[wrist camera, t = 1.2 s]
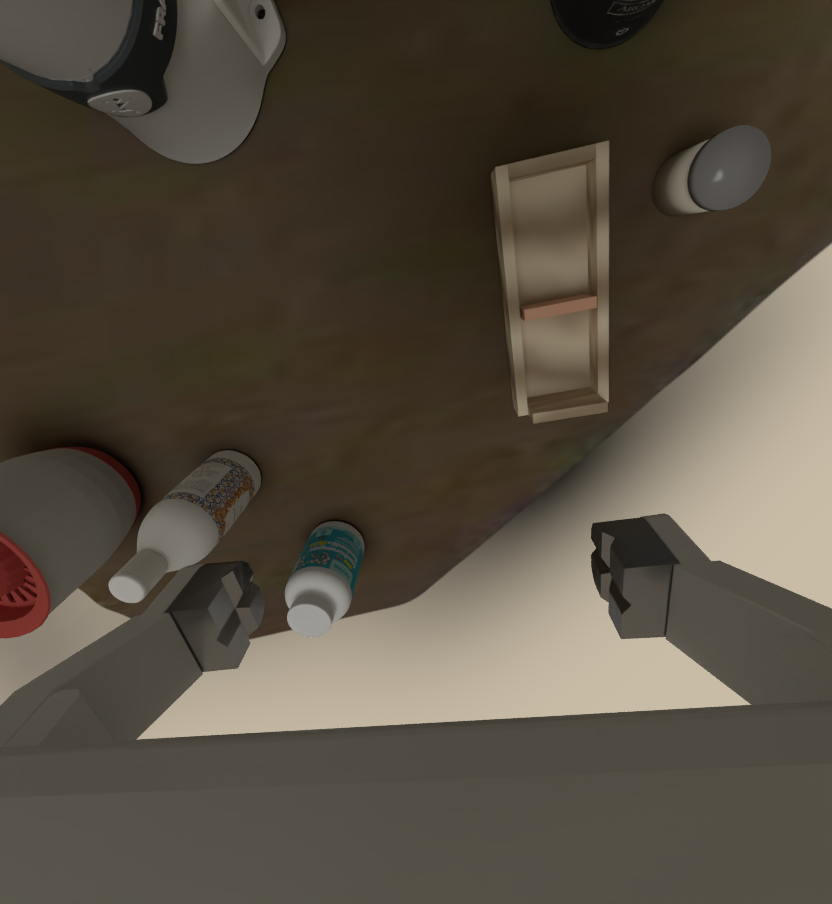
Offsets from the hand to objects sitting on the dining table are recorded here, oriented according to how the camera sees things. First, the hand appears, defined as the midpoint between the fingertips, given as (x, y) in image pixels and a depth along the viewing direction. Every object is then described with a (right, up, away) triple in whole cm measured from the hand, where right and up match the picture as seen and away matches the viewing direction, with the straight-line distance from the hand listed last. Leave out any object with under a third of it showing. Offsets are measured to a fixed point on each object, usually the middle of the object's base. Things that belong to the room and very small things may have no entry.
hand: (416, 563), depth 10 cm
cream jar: (+24, +26, +27) cm, 44 cm away
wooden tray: (+13, +18, +31) cm, 39 cm away
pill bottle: (-10, -9, +46) cm, 48 cm away
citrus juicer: (-42, -1, +43) cm, 60 cm away
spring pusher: (+13, +17, +31) cm, 37 cm away
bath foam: (-22, 0, +42) cm, 48 cm away
